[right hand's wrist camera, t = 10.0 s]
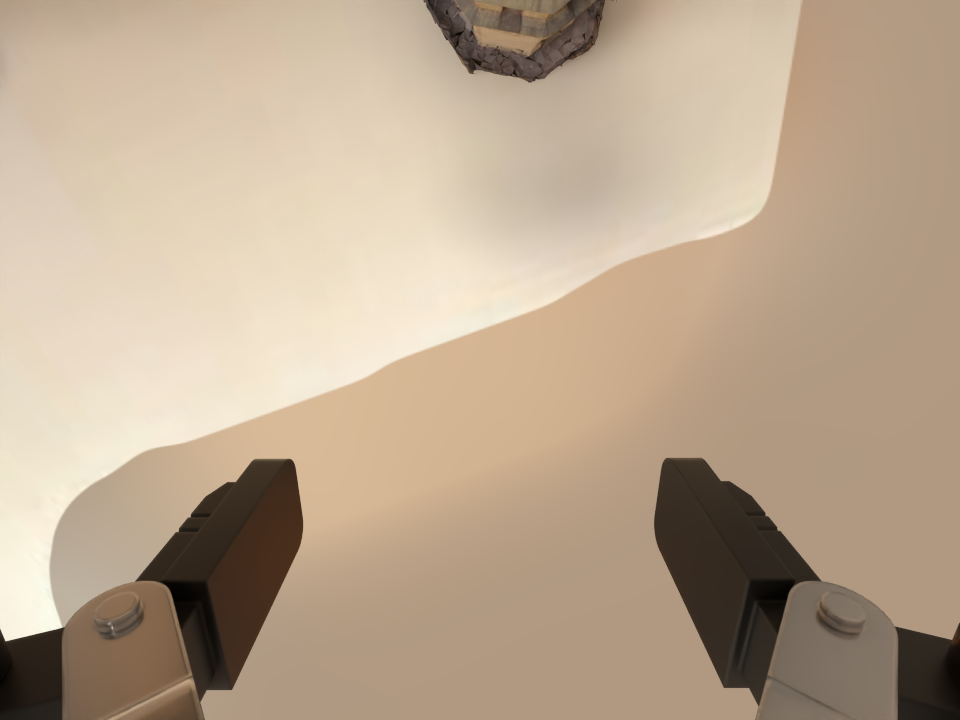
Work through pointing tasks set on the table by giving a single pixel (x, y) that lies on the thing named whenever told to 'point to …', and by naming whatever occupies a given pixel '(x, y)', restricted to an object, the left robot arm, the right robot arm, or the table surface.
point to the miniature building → (518, 33)
